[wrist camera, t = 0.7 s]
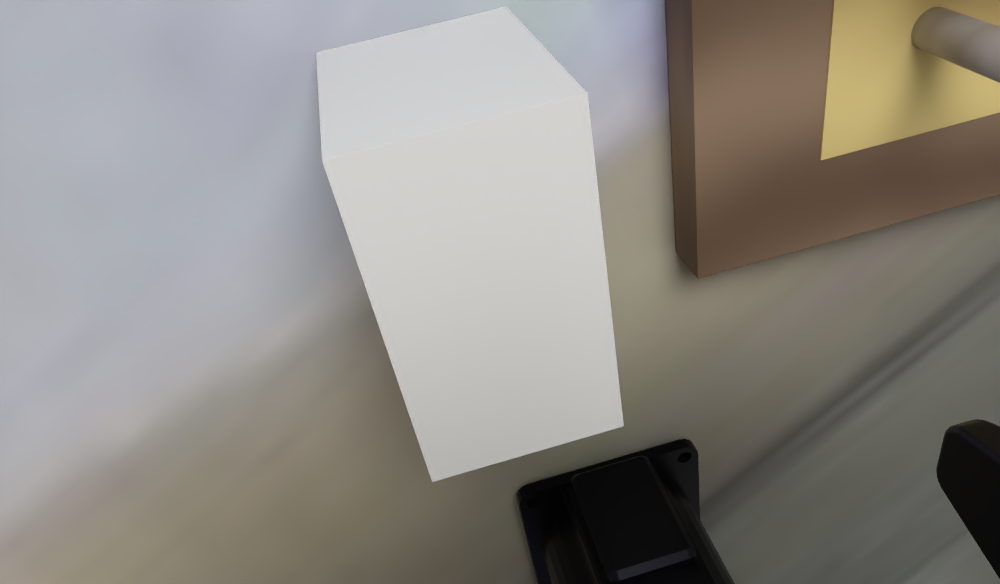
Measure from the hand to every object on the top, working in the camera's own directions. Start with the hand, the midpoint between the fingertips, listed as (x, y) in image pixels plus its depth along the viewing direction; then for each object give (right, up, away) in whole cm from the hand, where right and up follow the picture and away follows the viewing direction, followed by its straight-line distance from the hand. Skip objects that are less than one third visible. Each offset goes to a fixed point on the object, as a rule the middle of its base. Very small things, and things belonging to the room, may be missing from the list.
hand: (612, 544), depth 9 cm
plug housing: (-3, +6, +10) cm, 12 cm away
